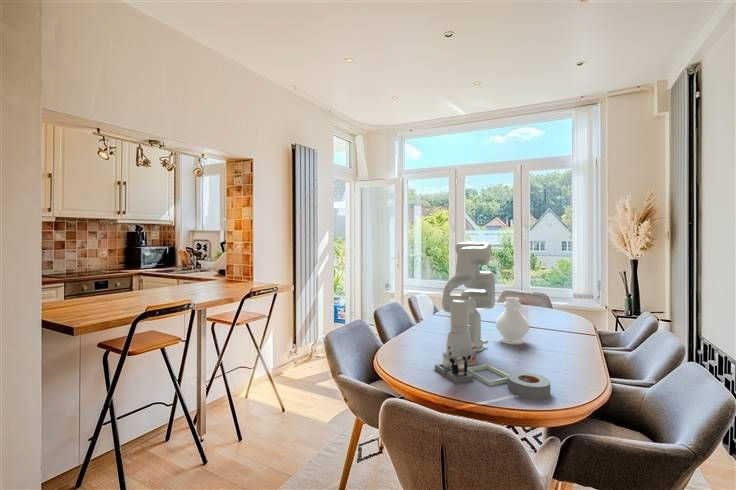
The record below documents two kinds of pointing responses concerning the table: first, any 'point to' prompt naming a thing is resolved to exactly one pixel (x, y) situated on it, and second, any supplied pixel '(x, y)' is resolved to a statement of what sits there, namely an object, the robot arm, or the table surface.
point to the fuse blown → (460, 367)
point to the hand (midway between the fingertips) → (459, 371)
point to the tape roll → (529, 385)
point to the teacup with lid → (473, 358)
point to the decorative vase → (512, 322)
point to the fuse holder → (453, 375)
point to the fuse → (446, 362)
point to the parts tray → (490, 383)
